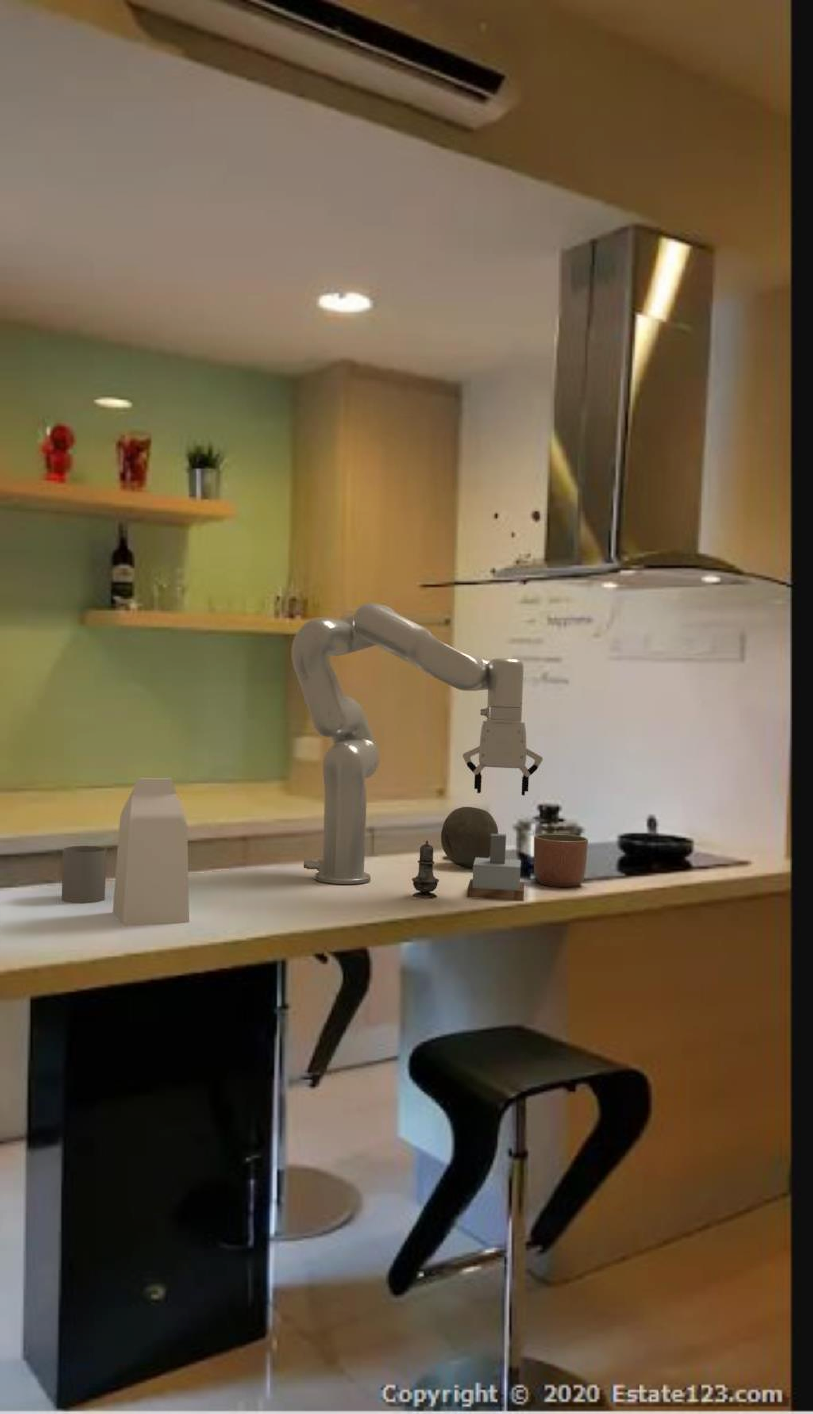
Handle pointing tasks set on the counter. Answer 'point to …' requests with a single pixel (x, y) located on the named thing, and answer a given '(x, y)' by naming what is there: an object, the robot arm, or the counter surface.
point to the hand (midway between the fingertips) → (501, 793)
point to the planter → (560, 859)
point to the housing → (497, 868)
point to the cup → (83, 874)
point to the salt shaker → (425, 874)
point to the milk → (152, 857)
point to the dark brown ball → (467, 835)
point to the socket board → (495, 893)
